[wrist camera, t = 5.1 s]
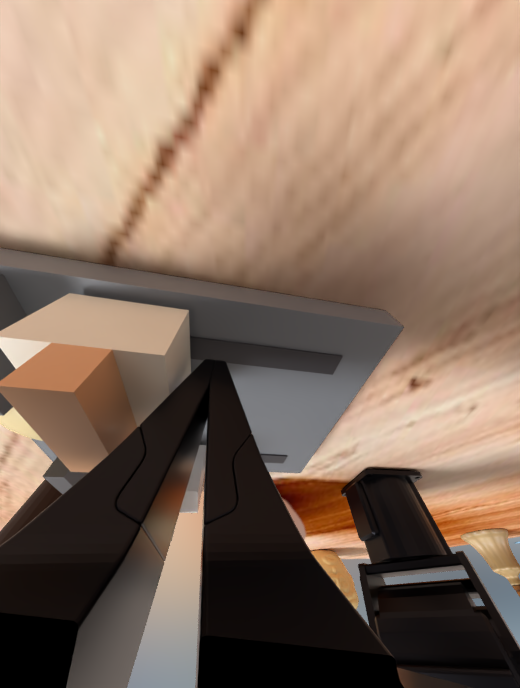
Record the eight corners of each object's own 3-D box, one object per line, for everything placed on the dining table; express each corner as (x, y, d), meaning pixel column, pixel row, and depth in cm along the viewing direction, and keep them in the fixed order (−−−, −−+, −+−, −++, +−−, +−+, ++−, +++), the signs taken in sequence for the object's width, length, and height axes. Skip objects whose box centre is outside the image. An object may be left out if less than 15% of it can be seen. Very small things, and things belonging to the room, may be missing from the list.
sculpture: (351, 547, 48) (373, 624, 40) (326, 556, 55) (340, 623, 46) (309, 546, 46) (322, 628, 37) (288, 555, 52) (295, 626, 44)
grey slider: (206, 445, 13) (191, 523, 10) (205, 470, 16) (193, 541, 13) (142, 441, 13) (106, 523, 10) (151, 468, 15) (124, 541, 12)
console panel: (385, 310, 10) (450, 367, 7) (297, 455, 19) (306, 509, 15) (-89, 233, 7) (-356, 265, 4) (68, 442, 16) (23, 504, 13)
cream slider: (189, 310, 7) (141, 397, 4) (191, 383, 10) (161, 475, 7) (69, 292, 7) (-88, 378, 4) (102, 374, 9) (23, 470, 6)
